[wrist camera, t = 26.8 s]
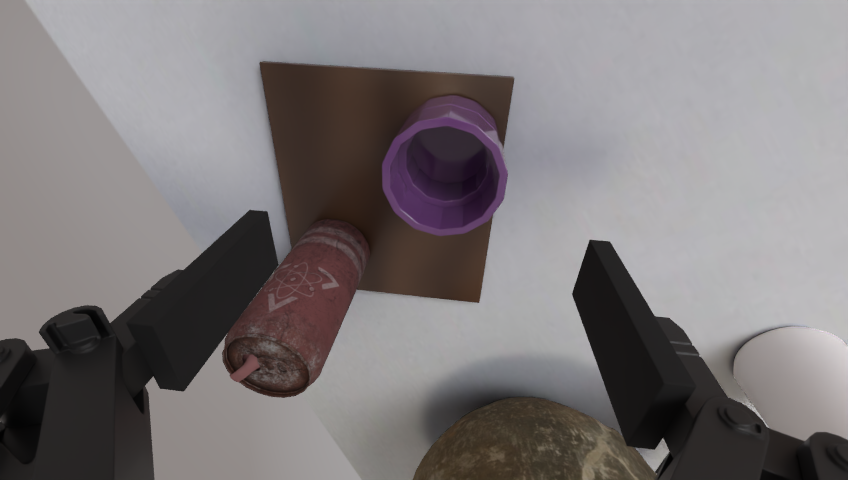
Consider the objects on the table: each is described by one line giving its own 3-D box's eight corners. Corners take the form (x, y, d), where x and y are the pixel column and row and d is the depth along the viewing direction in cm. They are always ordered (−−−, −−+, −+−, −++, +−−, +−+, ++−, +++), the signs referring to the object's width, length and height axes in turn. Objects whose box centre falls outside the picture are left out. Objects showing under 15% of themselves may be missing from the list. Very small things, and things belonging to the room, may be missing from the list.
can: (291, 239, 34) (193, 359, 23) (338, 203, 32) (256, 318, 20) (336, 283, 36) (269, 414, 25) (384, 253, 34) (335, 383, 22)
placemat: (300, 279, 38) (297, 283, 37) (263, 61, 27) (258, 62, 27) (479, 298, 36) (479, 303, 36) (513, 76, 26) (514, 77, 25)
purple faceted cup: (401, 187, 30) (382, 230, 24) (401, 89, 26) (380, 112, 20) (492, 195, 30) (496, 241, 24) (507, 96, 26) (517, 121, 20)
